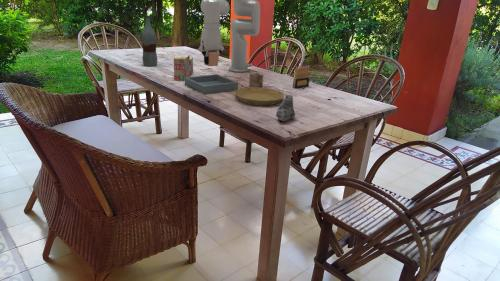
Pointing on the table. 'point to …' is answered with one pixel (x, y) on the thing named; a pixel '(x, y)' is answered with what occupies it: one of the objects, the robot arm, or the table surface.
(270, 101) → the plant saucer
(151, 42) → the bottle
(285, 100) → the mineral rock
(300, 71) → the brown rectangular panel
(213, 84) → the tray
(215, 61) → the terracotta block
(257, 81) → the walnut block
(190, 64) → the stack of blocks
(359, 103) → the table surface
